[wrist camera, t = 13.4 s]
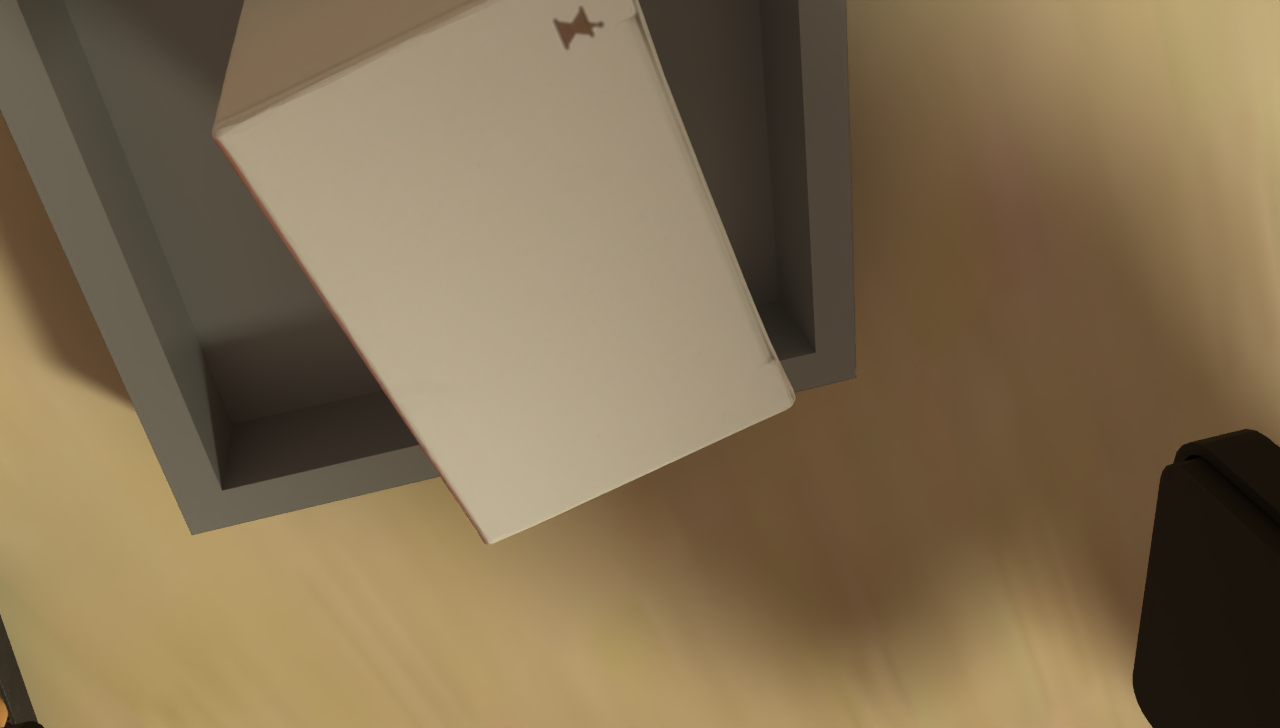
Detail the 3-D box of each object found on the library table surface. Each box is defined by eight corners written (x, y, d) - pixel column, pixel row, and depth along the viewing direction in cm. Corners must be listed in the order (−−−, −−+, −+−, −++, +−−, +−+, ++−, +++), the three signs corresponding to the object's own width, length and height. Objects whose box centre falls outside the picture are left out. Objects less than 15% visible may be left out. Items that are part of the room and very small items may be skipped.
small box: (251, -53, 22) (189, 119, 13) (508, -175, 22) (615, -82, 13) (437, 272, 27) (483, 562, 18) (652, 172, 26) (806, 413, 18)
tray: (766, -461, 21) (832, -485, 18) (807, 311, 30) (856, 377, 27) (-120, -336, 19) (-203, -339, 16) (207, 448, 28) (191, 535, 26)
